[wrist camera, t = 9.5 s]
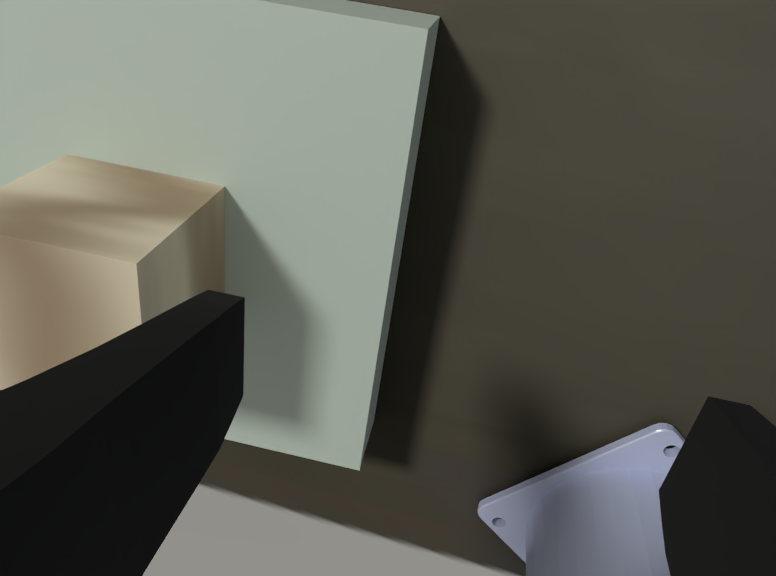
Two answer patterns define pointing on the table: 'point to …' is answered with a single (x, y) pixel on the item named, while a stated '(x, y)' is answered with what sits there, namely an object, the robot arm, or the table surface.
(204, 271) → the maple block
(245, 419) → the base board
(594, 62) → the table surface
